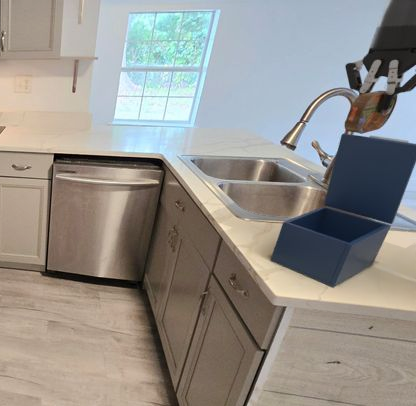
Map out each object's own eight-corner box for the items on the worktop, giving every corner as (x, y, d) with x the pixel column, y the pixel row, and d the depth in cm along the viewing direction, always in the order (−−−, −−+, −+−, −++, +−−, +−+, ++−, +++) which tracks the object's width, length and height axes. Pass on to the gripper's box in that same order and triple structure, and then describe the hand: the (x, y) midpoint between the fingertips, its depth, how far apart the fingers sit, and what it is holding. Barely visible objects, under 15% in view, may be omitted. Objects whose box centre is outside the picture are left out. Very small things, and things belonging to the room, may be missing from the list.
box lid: (420, 146, 74) (434, 135, 75) (341, 134, 84) (355, 125, 86) (391, 224, 83) (404, 213, 85) (323, 205, 93) (336, 195, 95)
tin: (353, 136, 77) (373, 95, 73) (335, 132, 80) (353, 92, 76) (386, 128, 83) (406, 90, 79) (368, 124, 86) (387, 87, 82)
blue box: (333, 287, 80) (352, 245, 76) (269, 260, 91) (283, 222, 86) (372, 265, 88) (391, 225, 83) (309, 242, 98) (323, 206, 94)
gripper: (349, 26, 77) (322, 109, 84) (450, 20, 65) (409, 117, 72) (366, 26, 80) (339, 106, 87) (466, 20, 68) (425, 114, 75)
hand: (371, 111), depth 79 cm, fingers closed on tin, 2 cm apart
